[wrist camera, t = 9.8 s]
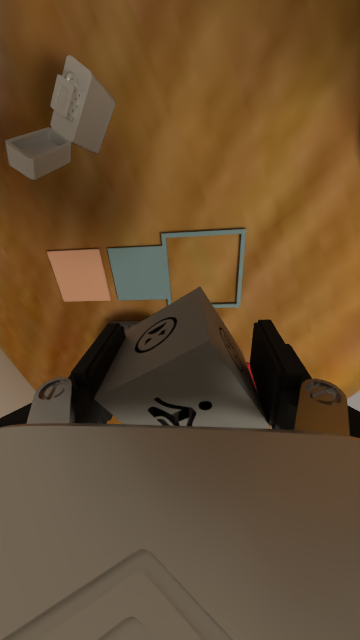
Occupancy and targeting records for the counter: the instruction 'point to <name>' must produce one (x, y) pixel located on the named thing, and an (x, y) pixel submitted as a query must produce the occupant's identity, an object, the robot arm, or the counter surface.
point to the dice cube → (182, 372)
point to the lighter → (65, 123)
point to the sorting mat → (126, 271)
